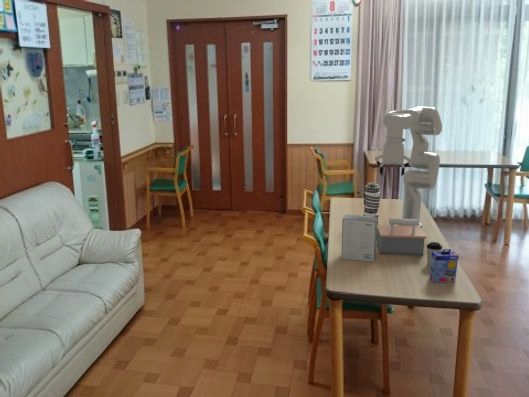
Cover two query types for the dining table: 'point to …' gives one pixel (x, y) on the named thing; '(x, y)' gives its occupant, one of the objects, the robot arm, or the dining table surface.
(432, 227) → the dining table surface
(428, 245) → the coffee cup
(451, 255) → the ink cartridge box
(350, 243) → the hard drive box
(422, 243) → the box
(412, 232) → the flap
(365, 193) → the decorative candle
